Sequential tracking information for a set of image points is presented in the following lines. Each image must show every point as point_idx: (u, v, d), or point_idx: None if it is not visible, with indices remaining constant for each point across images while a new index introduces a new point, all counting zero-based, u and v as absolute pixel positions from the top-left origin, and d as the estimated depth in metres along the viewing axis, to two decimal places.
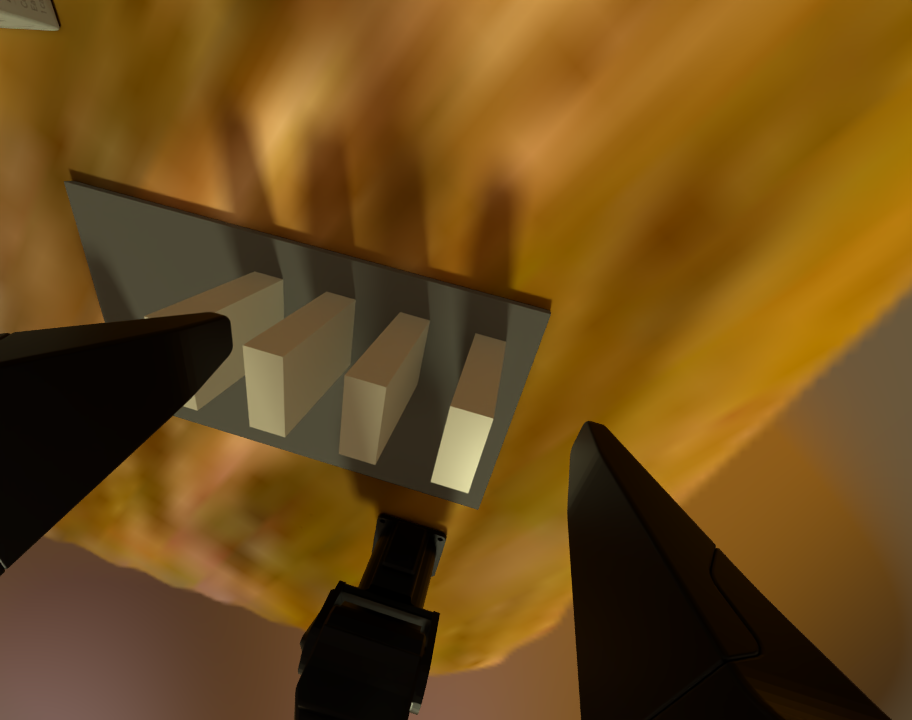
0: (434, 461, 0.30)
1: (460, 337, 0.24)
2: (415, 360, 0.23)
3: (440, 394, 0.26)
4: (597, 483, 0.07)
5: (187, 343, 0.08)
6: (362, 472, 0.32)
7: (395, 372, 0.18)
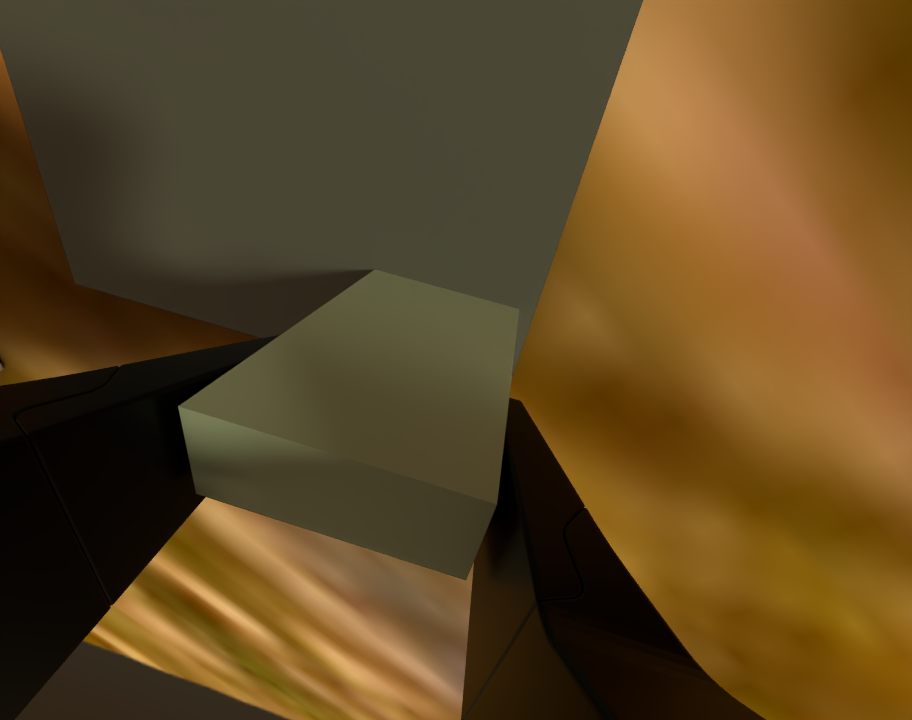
0: None
1: None
2: None
3: None
4: None
5: None
6: None
7: None
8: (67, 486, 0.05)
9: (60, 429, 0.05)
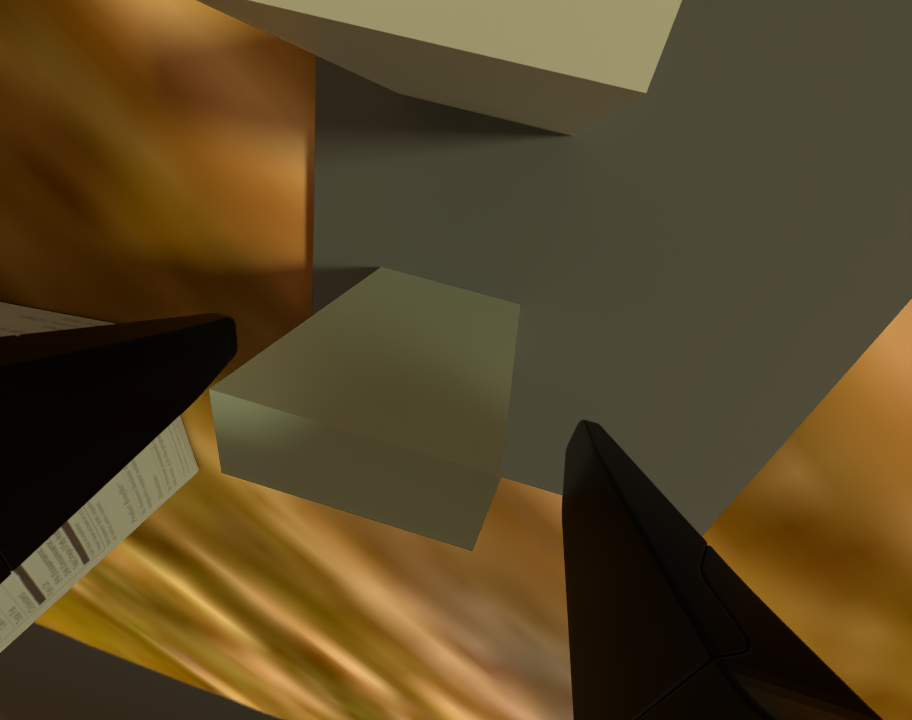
0: None
1: None
2: None
3: None
4: (591, 481, 0.07)
5: (192, 345, 0.08)
6: None
7: None
8: None
9: None
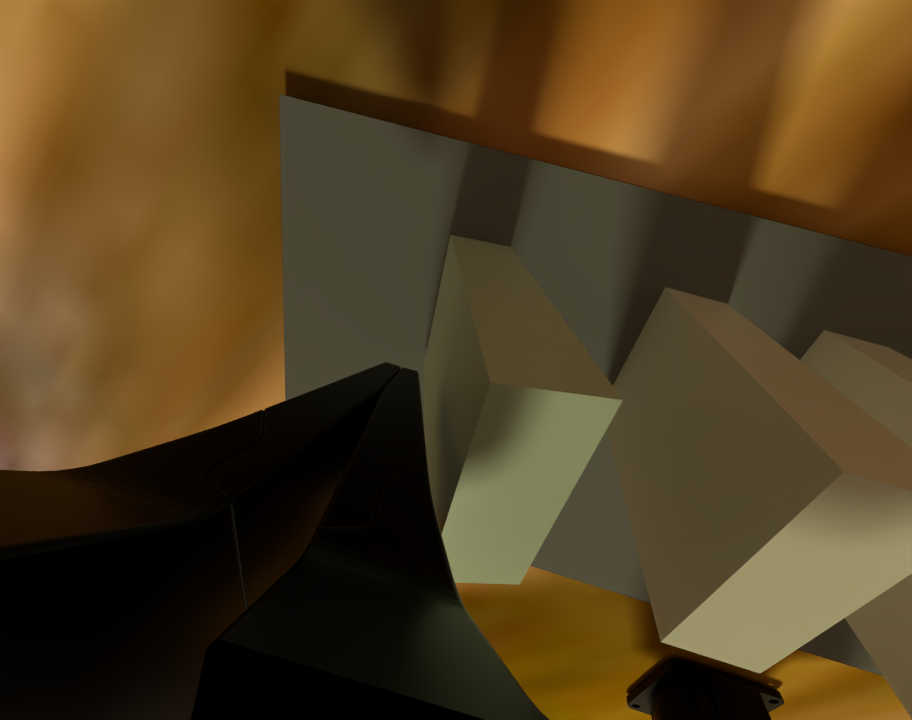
0: None
1: None
2: None
3: None
4: None
5: None
6: None
7: None
8: (245, 544, 0.05)
9: (248, 489, 0.04)
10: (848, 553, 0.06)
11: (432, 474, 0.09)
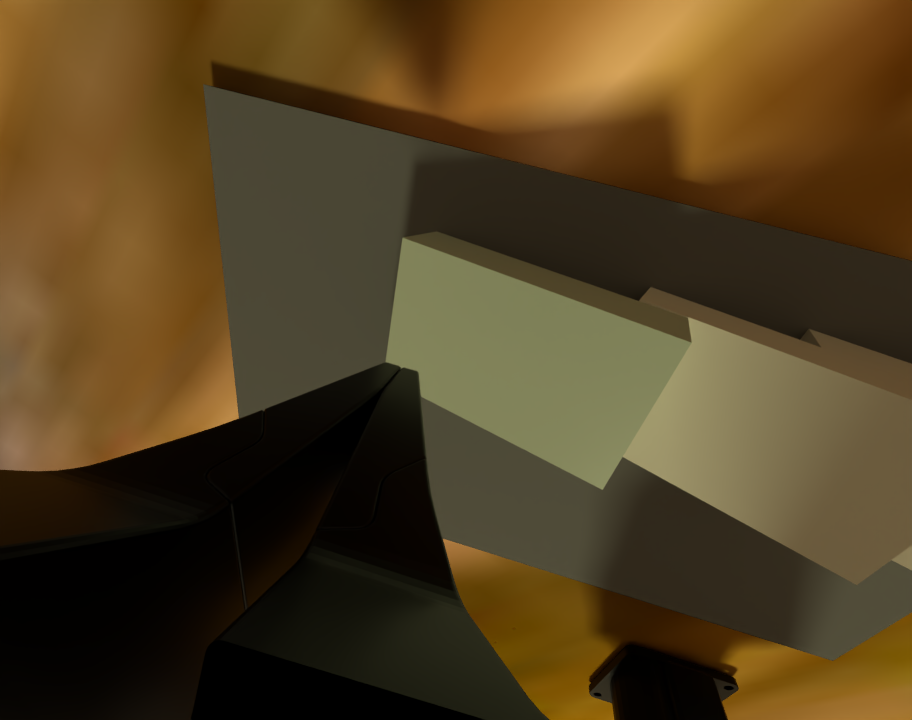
0: (792, 593, 0.17)
1: None
2: None
3: None
4: None
5: None
6: (636, 596, 0.19)
7: None
8: (245, 544, 0.05)
9: (248, 489, 0.04)
10: None
11: (552, 435, 0.11)
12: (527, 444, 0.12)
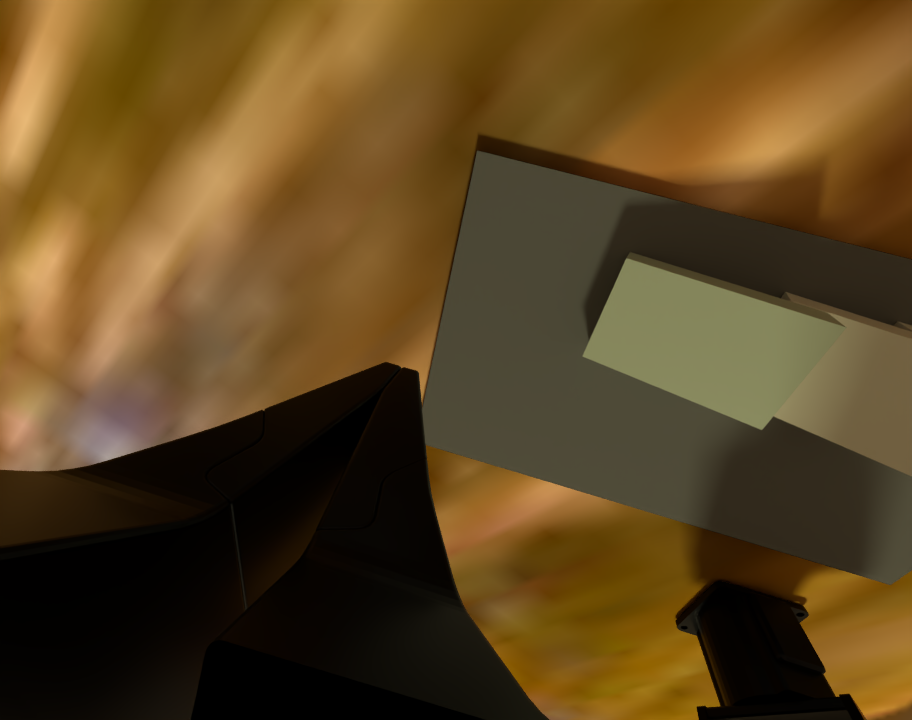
0: (863, 526, 0.22)
1: None
2: None
3: None
4: None
5: None
6: (733, 535, 0.25)
7: None
8: (245, 544, 0.05)
9: (248, 489, 0.04)
10: None
11: (726, 393, 0.16)
12: (703, 400, 0.17)
